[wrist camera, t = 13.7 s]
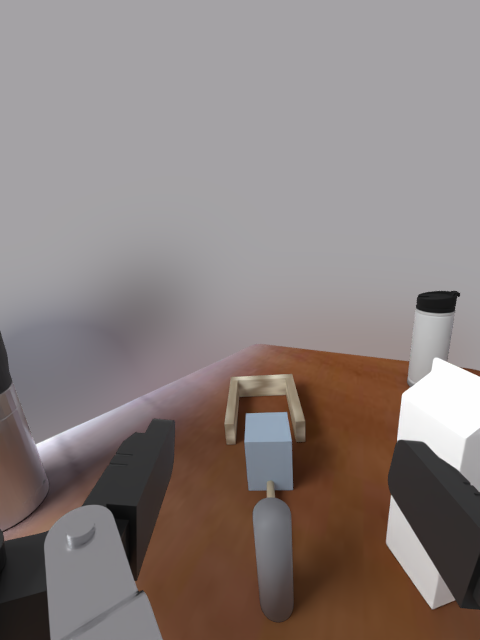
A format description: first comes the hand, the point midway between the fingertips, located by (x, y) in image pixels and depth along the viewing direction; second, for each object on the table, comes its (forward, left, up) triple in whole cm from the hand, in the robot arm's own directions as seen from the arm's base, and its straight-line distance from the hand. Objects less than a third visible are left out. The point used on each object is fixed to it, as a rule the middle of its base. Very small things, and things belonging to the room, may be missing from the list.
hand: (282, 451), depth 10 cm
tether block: (0, +18, -26) cm, 32 cm away
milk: (+16, +12, -26) cm, 33 cm away
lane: (-1, +37, -26) cm, 46 cm away
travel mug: (+34, +45, -26) cm, 62 cm away
